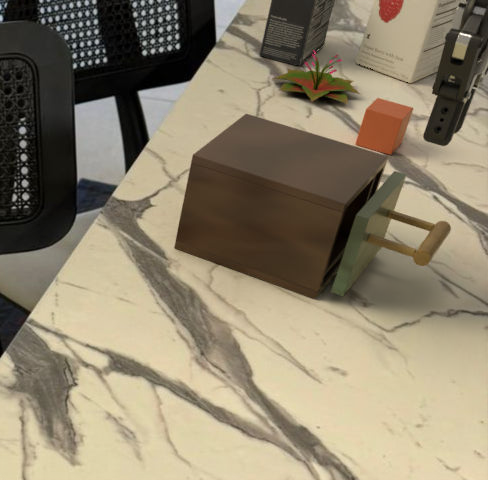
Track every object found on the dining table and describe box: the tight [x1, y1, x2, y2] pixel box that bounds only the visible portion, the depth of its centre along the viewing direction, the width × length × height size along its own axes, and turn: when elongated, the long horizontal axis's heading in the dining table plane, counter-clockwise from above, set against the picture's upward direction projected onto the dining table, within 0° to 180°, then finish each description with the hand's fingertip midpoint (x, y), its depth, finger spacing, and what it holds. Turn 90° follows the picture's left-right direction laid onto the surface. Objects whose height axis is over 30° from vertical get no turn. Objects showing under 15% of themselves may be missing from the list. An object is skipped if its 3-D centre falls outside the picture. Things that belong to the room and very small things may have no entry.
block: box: [355, 97, 414, 156], centre depth 121 cm, size 4×4×4 cm
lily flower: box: [273, 51, 363, 105], centre depth 132 cm, size 12×12×5 cm
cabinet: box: [173, 113, 389, 300], centre depth 98 cm, size 15×13×10 cm
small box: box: [259, 0, 336, 67], centre depth 141 cm, size 11×6×10 cm, turn 149°
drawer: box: [324, 170, 452, 297], centre depth 96 cm, size 19×11×8 cm, turn 57°
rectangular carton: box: [355, 0, 465, 84], centre depth 138 cm, size 9×9×15 cm
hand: (441, 134), depth 87 cm, fingers open, 3 cm apart
